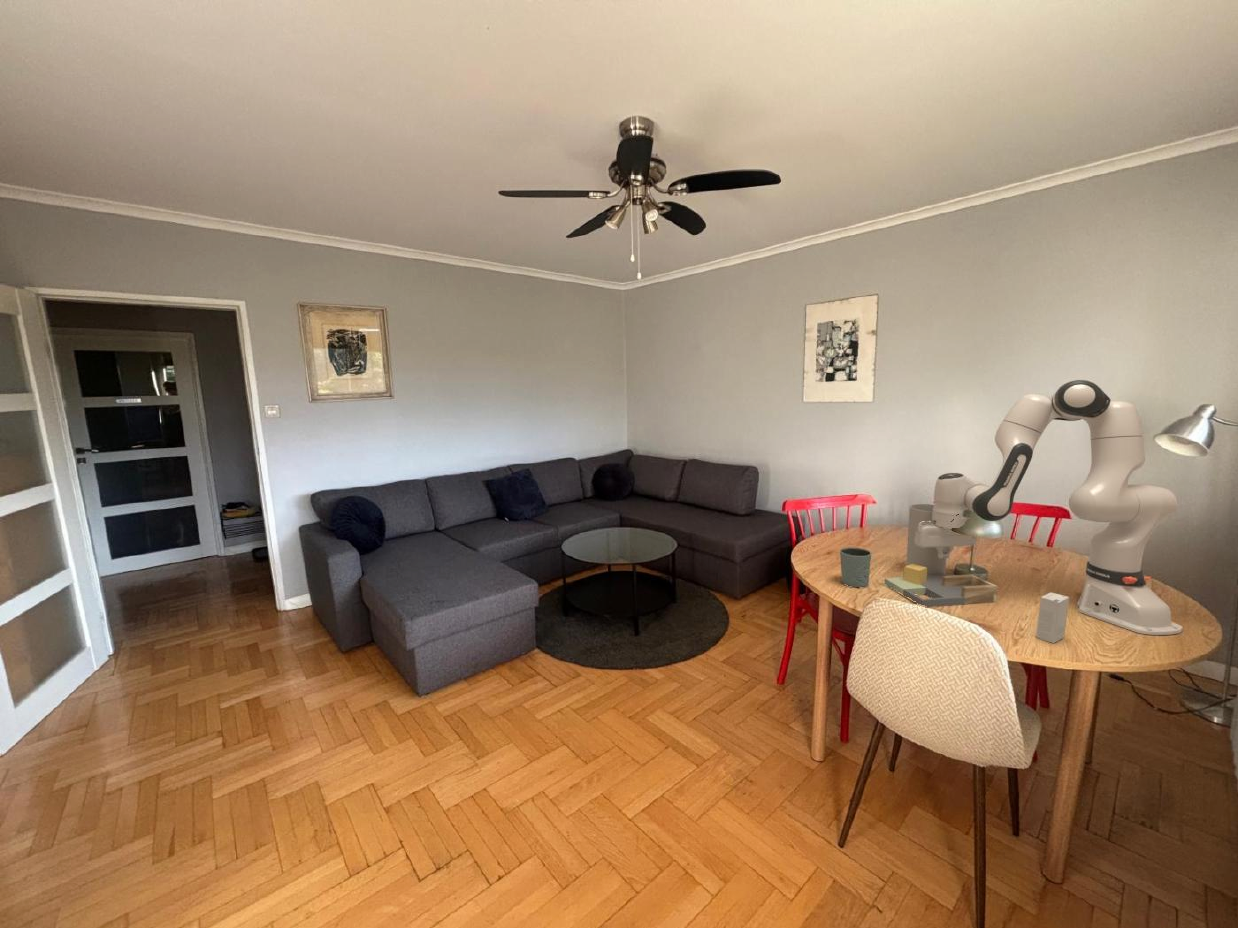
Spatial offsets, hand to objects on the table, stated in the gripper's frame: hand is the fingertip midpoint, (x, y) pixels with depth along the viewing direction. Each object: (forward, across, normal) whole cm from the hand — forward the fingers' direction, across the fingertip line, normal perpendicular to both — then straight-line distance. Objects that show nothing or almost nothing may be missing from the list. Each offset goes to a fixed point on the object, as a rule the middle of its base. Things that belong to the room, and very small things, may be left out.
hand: (943, 557), depth 173 cm
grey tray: (+10, -6, -7) cm, 13 cm away
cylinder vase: (+10, +2, +11) cm, 15 cm away
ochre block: (+7, -11, -2) cm, 13 cm away
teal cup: (+10, -29, +5) cm, 31 cm away
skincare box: (+9, +3, -39) cm, 40 cm away
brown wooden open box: (+9, +1, -11) cm, 15 cm away
